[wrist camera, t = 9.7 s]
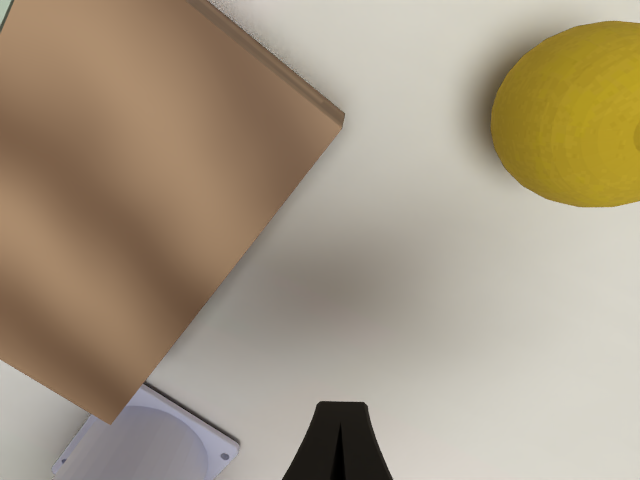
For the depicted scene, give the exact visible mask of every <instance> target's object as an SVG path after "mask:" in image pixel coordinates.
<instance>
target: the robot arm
mask: <svg viewBox="0 0 640 480" xmlns="http://www.w3.org/2000/svg"><path fill="white" fill-rule="evenodd" d="M239 449H240V446H239V444H238V443H237V442H235V441H234V440H232V439H230V438H229V437H227V436H226V435H224V434H222V433H221V432H219V431H218V430H216V429H214V428H213V427H211V426H210V425H208V424H207V423H205V422H203V421H202V420H200V419H199V418H197V417H195V416H194V415H192V414H191V413H189V412H187V411H186V410H184V409H183V408H181V407H179V406H178V405H176V404H175V403H173V402H171V401H170V400H168V399H167V398H165V397H163V396H162V395H160V394H159V393H157V392H155V391H154V390H152V389H151V388H149V387H147V386H146V385H144V384H142V385H141V387H140V388H139V389H138V391H137V392H136V393H135V394H134V396H133V397H132V398H131V400H130V401H129V402H128V403H127V405H126V406H125V407H124V409H123V410H122V411H121V412H120V414H119V415H118V416H117V418H116V419H115V420H114V421H113V423H112V424H111V425H109V424H107V423H106V422H104V421H102V420H101V419H99V418H97V417H96V416H94V415H92V414H91V415H90V417H89V418H88V419H87V421H86V422H85V423H84V425H83V426H82V427H81V429H80V430H79V431H78V433H77V434H76V435H75V437H74V438H73V439H72V441H71V442H70V443H69V445H68V446H67V447H66V449H65V450H64V452H63V453H62V454H61V456H60V457H59V458H58V460H57V461H56V462H55V464H54V465H53V466H52V472H53V474H55V476H54V477H53V478H52V480H213V479H214V478H215V477H216V476H217V475H218V474H219V473H220V472H221V471H222V470H223V469H224V468H225V467H226V466H227V465H228V464H229V463H230V462H231V461H232V460H233V459H234V458H235V457H236V456H237V455H238V452H239ZM224 453H226V454H224ZM282 480H393V478H392V476H391V474H390V472H389V470H388V467H387V465H386V462H385V460H384V458H383V455H382V453H381V451H380V448H379V445H378V443H377V440H376V437H375V434H374V431H373V428H372V425H371V421H370V417H369V412H368V406H367V405H366V404H365V403H364V402H332V401H320V402H319V403H318V404H317V406H316V409H315V412H314V415H313V418H312V421H311V423H310V426H309V428H308V430H307V433H306V435H305V437H304V439H303V441H302V443H301V445H300V447H299V449H298V451H297V453H296V455H295V457H294V459H293V461H292V463H291V465H290V467H289V468H288V470H287V472H286V473H285V475H284V477H283V479H282Z"/></svg>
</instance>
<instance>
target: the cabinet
mask: <svg viewBox="0 0 640 480" xmlns="http://www.w3.org/2000/svg"><path fill="white" fill-rule="evenodd" d="M344 116H345V113H343V112H342V111H341V110H340V109H339V108H337V107H336V106H335V105H334V104H333V103H331V102H330V101H329V100H328V99H326V98H325V97H324V96H323V95H322V94H320V93H319V92H318V91H317V90H315V89H314V88H313V87H312V86H311V85H309V84H308V83H307V82H306V81H305V80H303V79H302V78H301V77H300V76H298V75H297V74H296V73H295V72H294V71H292V70H291V69H290V68H289V67H288V66H286V65H285V64H284V63H283V62H281V61H280V60H279V59H278V58H277V57H275V56H274V55H273V54H272V53H271V52H269V51H268V50H267V49H266V48H264V47H263V46H262V45H261V44H260V43H258V42H257V41H256V40H255V39H253V38H252V37H251V36H250V35H249V34H247V33H246V32H245V31H244V30H243V29H241V28H240V27H239V26H238V25H236V24H235V23H234V22H233V21H232V20H230V19H229V18H228V17H227V16H226V15H224V14H223V13H222V12H221V11H219V10H218V9H217V8H216V7H215V6H213V5H212V4H211V3H210V2H209V1H207V0H14V2H13V5H12V7H11V10H10V12H9V14H8V17H7V19H6V21H5V24H4V26H3V28H2V31H1V33H0V360H2V361H4V362H5V363H7V364H9V365H10V366H12V367H14V368H15V369H17V370H19V371H20V372H22V373H24V374H25V375H27V376H29V377H31V378H32V379H34V380H36V381H37V382H39V383H41V384H42V385H44V386H46V387H47V388H49V389H51V390H52V391H54V392H56V393H57V394H59V395H61V396H62V397H64V398H66V399H67V400H69V401H71V402H72V403H74V404H76V405H77V406H79V407H81V408H82V409H84V410H86V411H87V412H89V413H91V414H92V415H94V416H96V417H97V418H99V419H101V420H102V421H104V422H106V423H107V424H109V425H111V424H112V423H113V421H114V420H115V419H116V418H117V416H118V415H119V414H120V412H121V411H122V410H123V409H124V407H125V406H126V405H127V403H128V402H129V401H130V400H131V398H132V397H133V396H134V394H135V393H136V392H137V391H138V389H139V388H140V387H141V385H142V384H143V383H144V382H145V380H146V379H147V378H148V377H149V375H150V374H151V373H152V371H153V370H154V369H155V368H156V366H157V365H158V364H159V362H160V361H161V360H162V359H163V357H164V356H165V355H166V353H167V352H168V351H169V350H170V348H171V347H172V346H173V344H174V343H175V342H176V341H177V339H178V338H179V337H180V335H181V334H182V333H183V332H184V330H185V329H186V328H187V326H188V325H189V324H190V323H191V321H192V320H193V319H194V317H195V316H196V315H197V314H198V312H199V311H200V310H201V309H202V307H203V306H204V305H205V303H206V302H207V301H208V300H209V298H210V297H211V296H212V294H213V293H214V292H215V291H216V289H217V288H218V287H219V285H220V284H221V283H222V282H223V280H224V279H225V278H226V276H227V275H228V274H229V273H230V271H231V270H232V269H233V267H234V266H235V265H236V264H237V262H238V261H239V260H240V258H241V257H242V256H243V255H244V253H245V252H246V251H247V249H248V248H249V247H250V246H251V244H252V243H253V242H254V241H255V239H256V238H257V237H258V235H259V234H260V233H261V232H262V230H263V229H264V228H265V226H266V225H267V224H268V223H269V221H270V220H271V219H272V217H273V216H274V215H275V214H276V212H277V211H278V210H279V208H280V207H281V206H282V205H283V203H284V202H285V201H286V199H287V198H288V197H289V196H290V194H291V193H292V192H293V190H294V189H295V188H296V187H297V185H298V184H299V183H300V181H301V180H302V179H303V178H304V176H305V175H306V174H307V172H308V171H309V170H310V169H311V167H312V166H313V165H314V164H315V162H316V161H317V160H318V158H319V157H320V156H321V155H322V153H323V152H324V151H325V149H326V148H327V147H328V146H329V144H330V143H331V142H332V140H333V139H334V138H335V137H336V135H337V134H338V133H339V131H340V130H341V129H342V126H343V121H344Z"/></svg>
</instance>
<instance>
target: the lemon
mask: <svg viewBox="0 0 640 480" xmlns="http://www.w3.org/2000/svg"><path fill="white" fill-rule="evenodd" d="M491 134H492V139H493V144H494V148H495V151H496V152H497V154H498V156H499V158H500V160H501V162H502V164H503V166H504V167H505V169H506V170H507V171H508V172H509V173H510V174H511V175H512V176H513V177H514V178H515V179H516V180H517V181H518V182H519V183H520V184H521V185H523V186H524V187H526V188H527V189H529V190H531V191H533V192H535V193H536V194H538V195H540V196H542V197H544V198H546V199H549V200H552V201H556V202H560V203H564V204H568V205H572V206H577V207H615V206H620V205H624V204H629V203H633V202H638V201H640V23H632V22H622V21H604V22H598V23H592V24H586V25H580V26H576V27H573V28H571V29H568V30H566V31H564V32H561V33H559V34H557V35H554V36H552V37H550V38H547V39H545V40H544V41H543V42H541V43H540V44H538V45H537V46H536V47H534V48H533V49H532V50H530V51H529V52H527V53H526V54H525V55H523V57H522V58H521V59H520V60H519V61H518V62H517V63H516V64H515V65H514V67H513V68H512V69H511V70H510V71H509V72H508V74H507V75H506V77H505V79H504V80H503V82H502V84H501V86H500V87H499V89H498V91H497V94H496V97H495V100H494V104H493V107H492V111H491Z"/></svg>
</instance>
